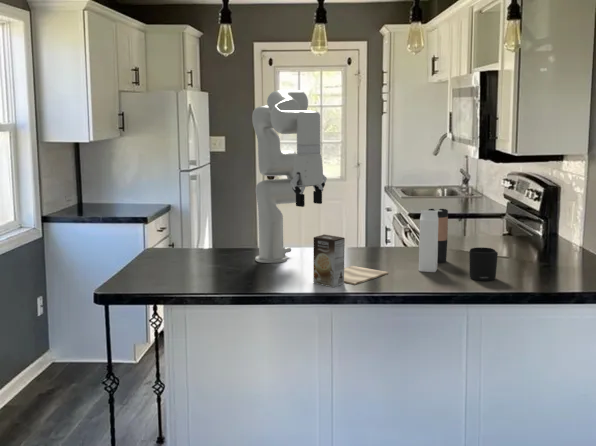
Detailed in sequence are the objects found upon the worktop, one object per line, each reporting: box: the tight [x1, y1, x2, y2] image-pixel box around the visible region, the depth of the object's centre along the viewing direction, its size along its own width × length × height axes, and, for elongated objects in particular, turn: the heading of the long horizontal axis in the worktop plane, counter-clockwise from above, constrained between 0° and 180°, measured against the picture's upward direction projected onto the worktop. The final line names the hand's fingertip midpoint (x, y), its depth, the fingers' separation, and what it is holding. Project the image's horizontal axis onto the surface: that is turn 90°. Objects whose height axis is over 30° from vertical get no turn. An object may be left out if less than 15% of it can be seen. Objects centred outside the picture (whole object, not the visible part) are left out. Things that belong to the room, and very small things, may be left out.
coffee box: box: [312, 234, 346, 288], centre depth 231 cm, size 9×6×16 cm
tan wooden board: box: [344, 265, 389, 286], centre depth 243 cm, size 20×16×1 cm
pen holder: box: [468, 247, 499, 282], centre depth 237 cm, size 9×9×10 cm
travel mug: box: [428, 208, 449, 264], centre depth 263 cm, size 8×8×20 cm
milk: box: [418, 209, 438, 273], centre depth 249 cm, size 6×6×22 cm
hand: (309, 204), depth 221 cm, fingers open, 8 cm apart
